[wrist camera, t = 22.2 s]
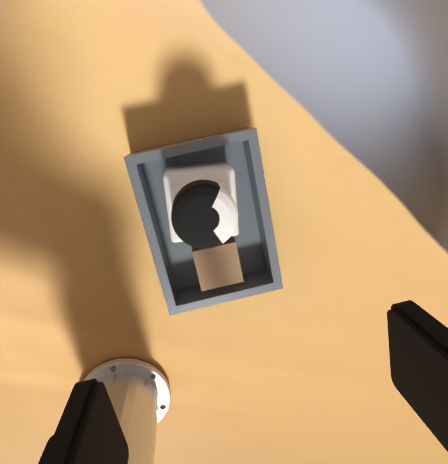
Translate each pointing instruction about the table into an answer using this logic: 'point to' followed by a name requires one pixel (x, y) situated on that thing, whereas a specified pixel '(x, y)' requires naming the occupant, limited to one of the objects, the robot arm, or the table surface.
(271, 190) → the table surface
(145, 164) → the tote
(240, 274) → the walnut cube
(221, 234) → the medicine bottle
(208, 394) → the table surface
